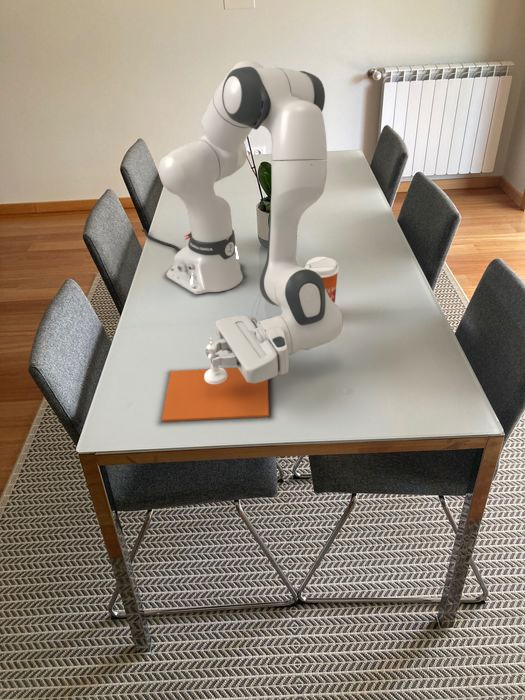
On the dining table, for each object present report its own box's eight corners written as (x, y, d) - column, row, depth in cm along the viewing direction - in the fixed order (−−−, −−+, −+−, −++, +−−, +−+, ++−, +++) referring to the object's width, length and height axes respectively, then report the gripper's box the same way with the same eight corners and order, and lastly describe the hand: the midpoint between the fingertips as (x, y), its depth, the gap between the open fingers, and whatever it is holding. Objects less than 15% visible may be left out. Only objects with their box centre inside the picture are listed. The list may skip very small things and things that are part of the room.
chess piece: (227, 368, 129) (222, 330, 123) (227, 383, 125) (222, 344, 119) (204, 370, 129) (198, 332, 123) (203, 385, 125) (197, 346, 119)
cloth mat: (162, 421, 123) (161, 419, 123) (171, 373, 136) (170, 371, 136) (268, 416, 123) (268, 414, 123) (267, 368, 136) (267, 366, 135)
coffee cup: (311, 328, 147) (311, 274, 138) (301, 311, 154) (299, 259, 145) (343, 321, 149) (345, 268, 140) (331, 305, 155) (332, 253, 146)
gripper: (251, 303, 133) (192, 319, 129) (290, 352, 118) (223, 372, 114) (253, 327, 137) (195, 343, 133) (291, 377, 121) (227, 398, 117)
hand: (208, 357), depth 123 cm, fingers closed on chess piece
